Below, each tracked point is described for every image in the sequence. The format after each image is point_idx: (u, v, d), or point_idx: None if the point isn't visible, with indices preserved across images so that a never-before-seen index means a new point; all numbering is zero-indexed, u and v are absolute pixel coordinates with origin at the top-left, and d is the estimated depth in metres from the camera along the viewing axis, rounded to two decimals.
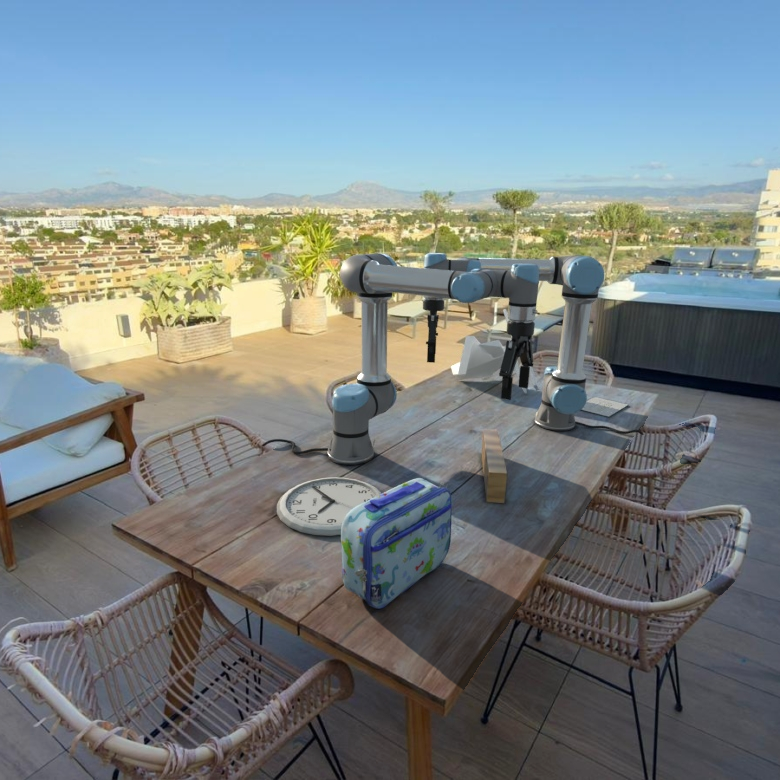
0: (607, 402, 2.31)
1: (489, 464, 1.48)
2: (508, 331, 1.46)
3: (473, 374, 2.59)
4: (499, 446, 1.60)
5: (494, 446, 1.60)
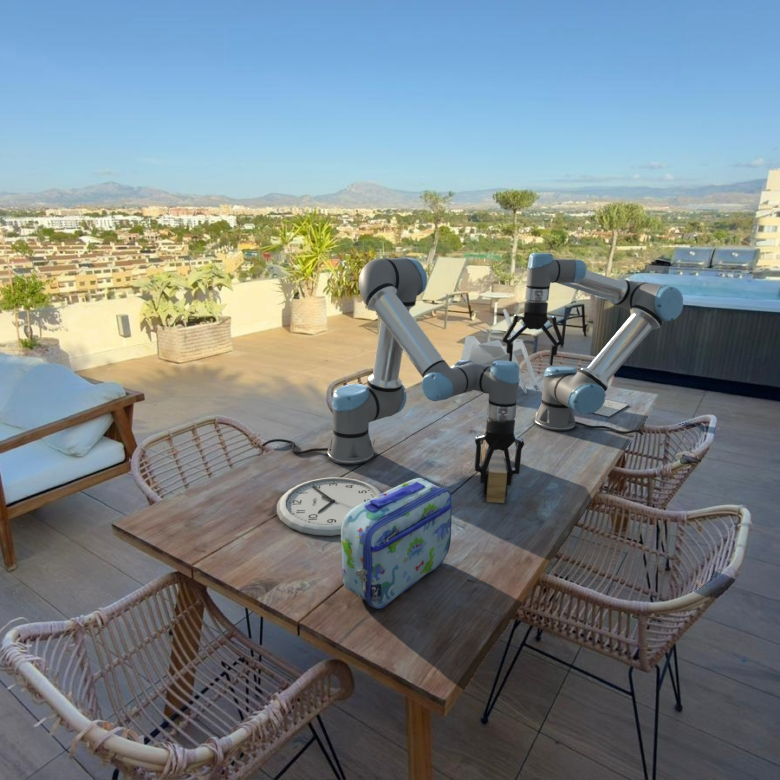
0: (607, 402, 2.31)
1: (489, 464, 1.48)
2: None
3: None
4: None
5: None
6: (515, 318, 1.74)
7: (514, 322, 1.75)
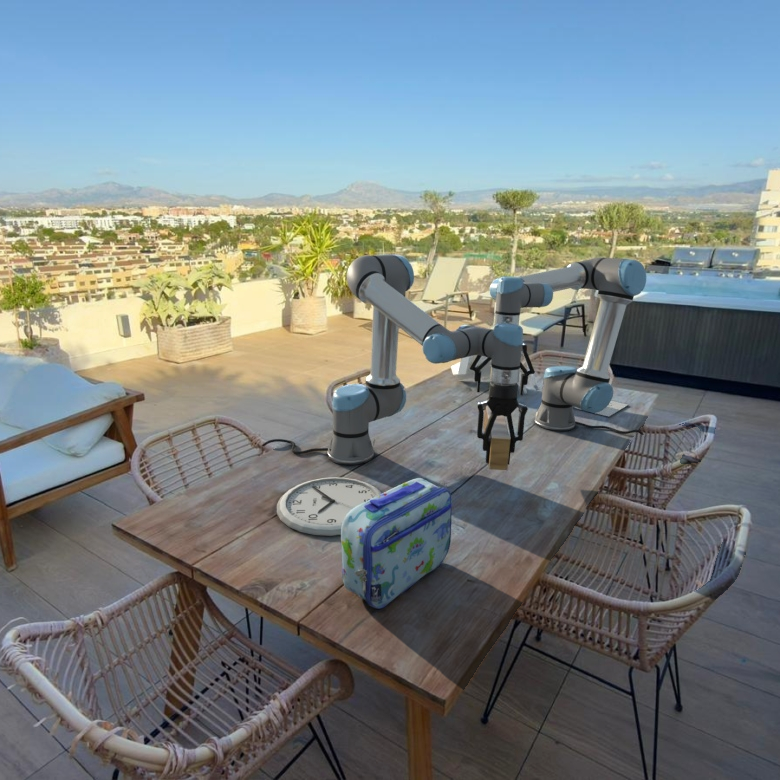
0: None
1: (492, 431, 1.45)
2: None
3: (473, 374, 2.59)
4: None
5: None
6: None
7: None
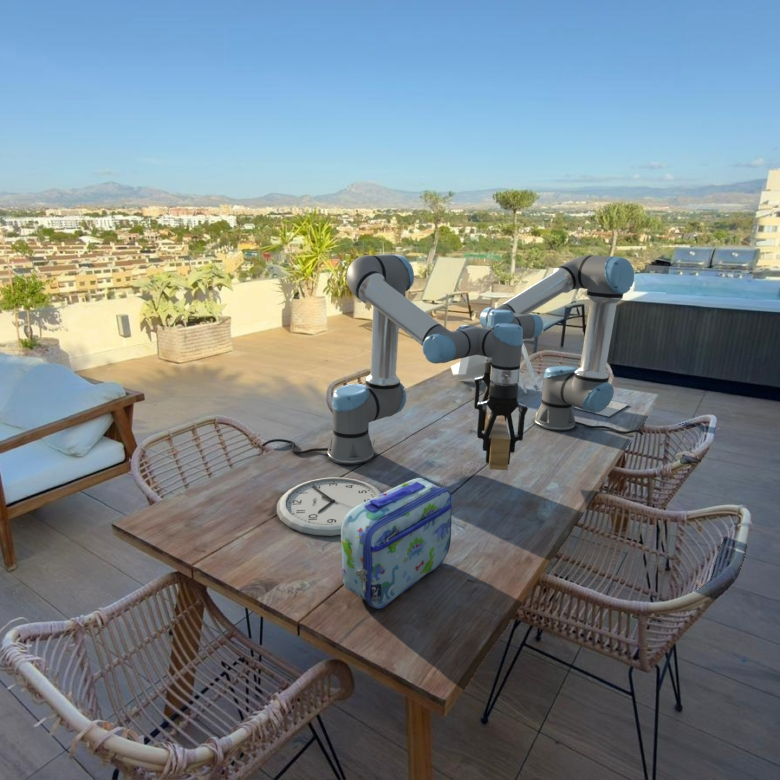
0: None
1: (492, 431, 1.45)
2: None
3: (473, 374, 2.59)
4: None
5: None
6: (476, 382, 1.64)
7: (477, 386, 1.65)
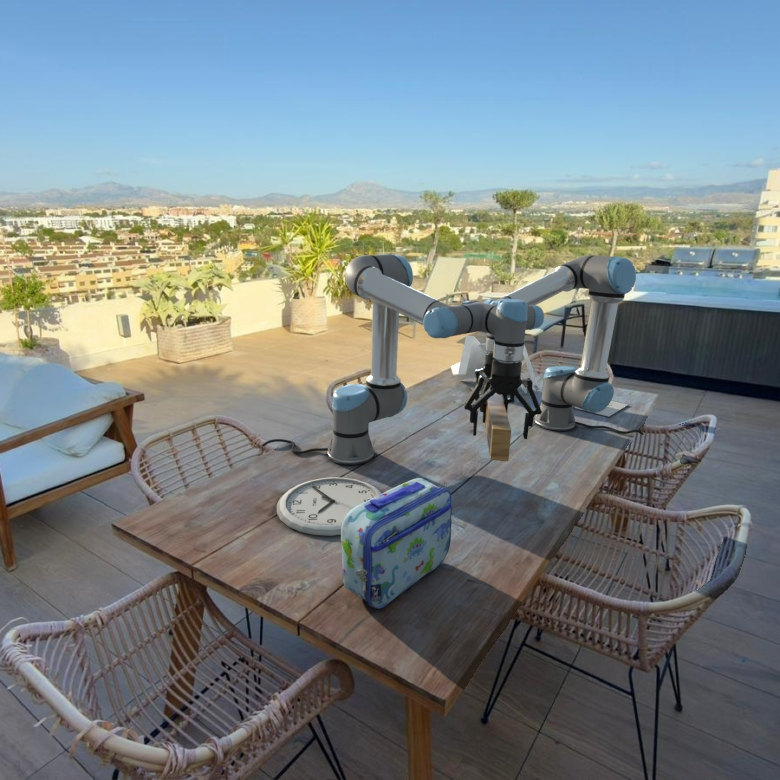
0: None
1: (493, 422, 1.44)
2: None
3: (473, 374, 2.59)
4: (503, 407, 1.57)
5: (498, 407, 1.56)
6: (476, 374, 1.64)
7: (477, 378, 1.64)
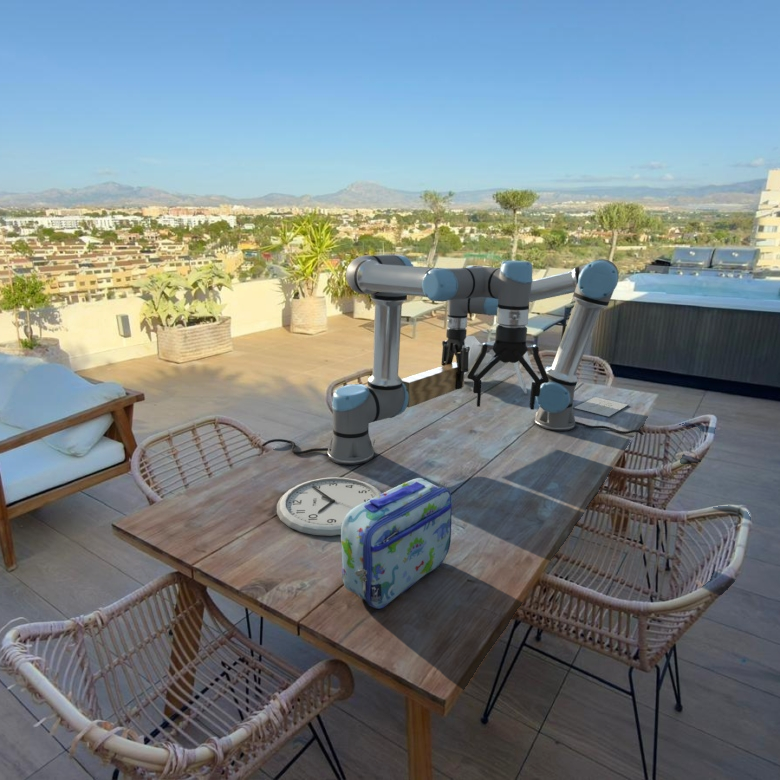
0: (607, 402, 2.31)
1: (408, 377, 1.86)
2: None
3: None
4: (440, 371, 1.93)
5: (437, 371, 1.93)
6: (442, 343, 2.03)
7: (443, 347, 2.04)
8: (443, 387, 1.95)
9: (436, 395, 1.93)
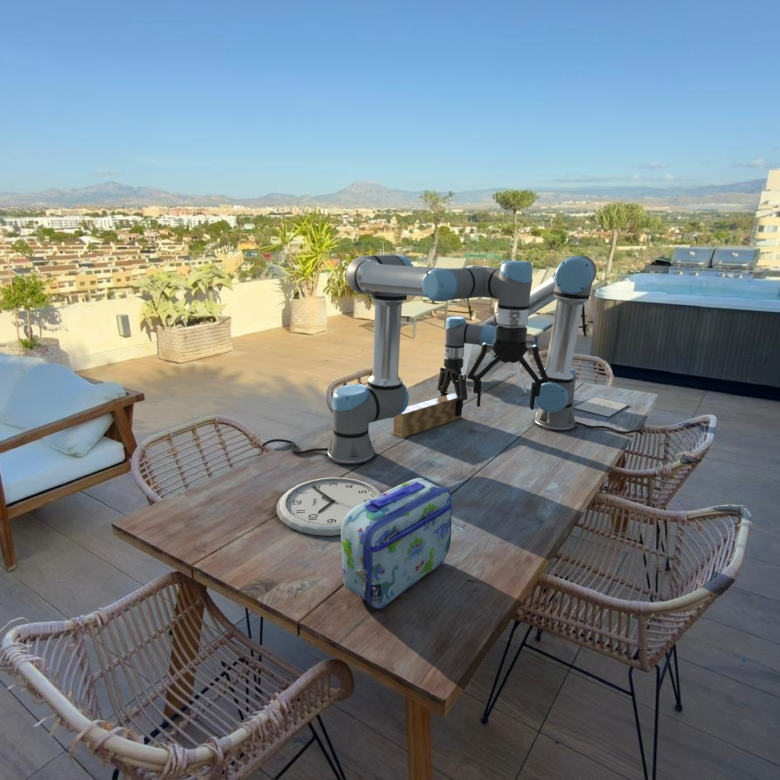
0: (607, 402, 2.31)
1: None
2: None
3: None
4: (437, 403, 1.99)
5: (433, 402, 2.00)
6: (440, 370, 2.09)
7: (440, 373, 2.09)
8: (439, 418, 2.01)
9: (431, 426, 1.99)
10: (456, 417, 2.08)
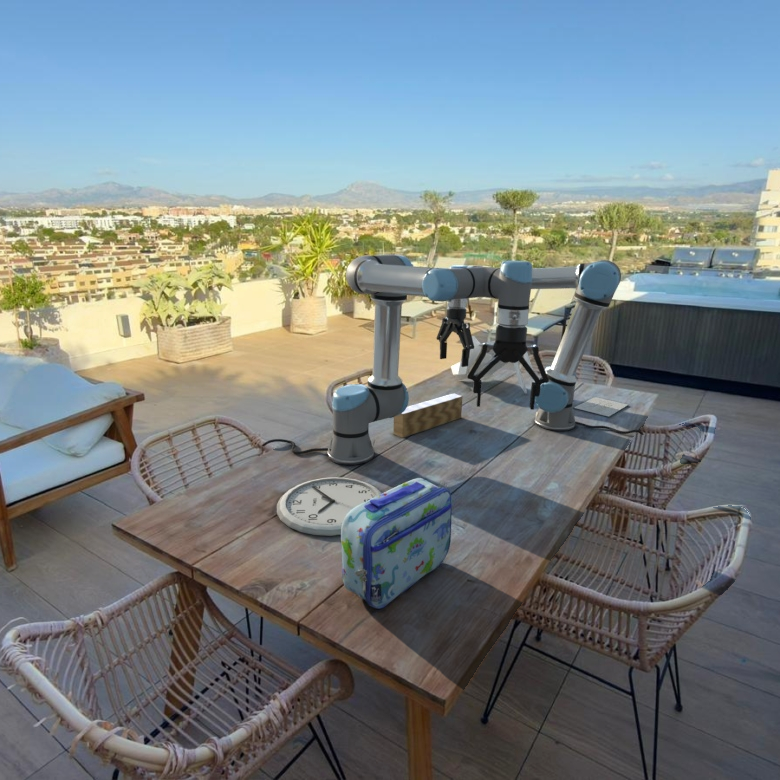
0: (607, 402, 2.31)
1: None
2: None
3: None
4: (437, 403, 1.99)
5: (433, 402, 2.00)
6: (442, 320, 2.03)
7: (442, 323, 2.03)
8: (439, 418, 2.01)
9: (431, 426, 1.99)
10: (456, 417, 2.08)
